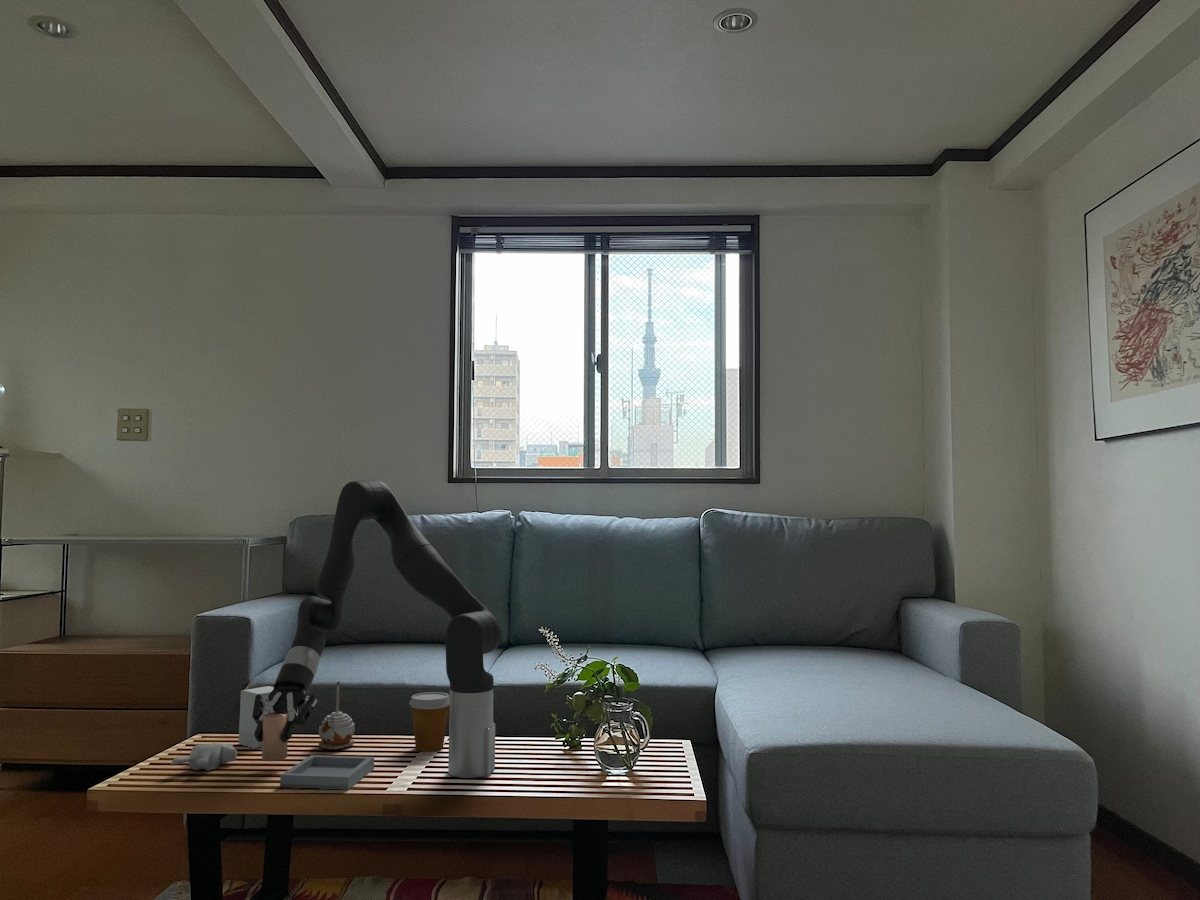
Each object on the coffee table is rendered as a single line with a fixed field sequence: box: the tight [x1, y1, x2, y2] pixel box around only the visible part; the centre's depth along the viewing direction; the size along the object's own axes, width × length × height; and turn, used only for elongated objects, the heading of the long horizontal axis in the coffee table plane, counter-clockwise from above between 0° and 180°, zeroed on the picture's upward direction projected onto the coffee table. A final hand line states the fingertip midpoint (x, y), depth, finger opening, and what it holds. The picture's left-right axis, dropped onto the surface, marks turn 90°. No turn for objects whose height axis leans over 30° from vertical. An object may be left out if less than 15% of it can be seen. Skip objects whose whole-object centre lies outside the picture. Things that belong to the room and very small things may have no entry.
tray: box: [279, 754, 375, 791], centre depth 172 cm, size 14×14×2 cm
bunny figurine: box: [170, 742, 238, 772], centre depth 179 cm, size 10×5×15 cm
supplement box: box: [238, 685, 274, 749], centre depth 199 cm, size 7×7×13 cm
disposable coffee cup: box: [409, 691, 450, 753], centre depth 195 cm, size 10×10×12 cm
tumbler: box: [261, 712, 289, 762], centre depth 178 cm, size 5×5×9 cm
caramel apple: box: [318, 680, 356, 750], centre depth 196 cm, size 8×8×15 cm
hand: (271, 739), depth 176 cm, fingers closed on tumbler, 5 cm apart
